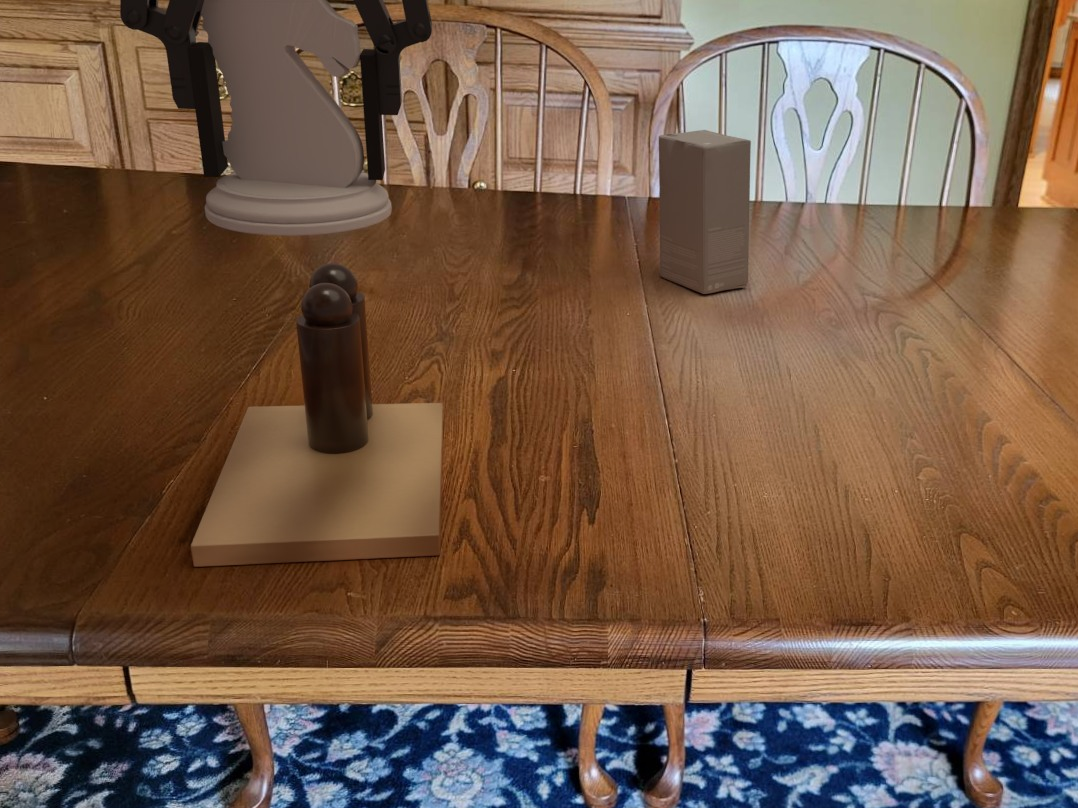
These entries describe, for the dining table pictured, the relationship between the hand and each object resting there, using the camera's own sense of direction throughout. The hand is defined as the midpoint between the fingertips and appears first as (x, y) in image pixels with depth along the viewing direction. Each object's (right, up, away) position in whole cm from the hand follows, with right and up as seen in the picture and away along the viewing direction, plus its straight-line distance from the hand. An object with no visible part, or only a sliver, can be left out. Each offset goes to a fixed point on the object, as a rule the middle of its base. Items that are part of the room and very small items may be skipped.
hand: (297, 172), depth 61 cm
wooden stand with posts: (-2, -18, +14) cm, 22 cm away
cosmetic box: (+22, +3, +60) cm, 64 cm away
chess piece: (0, -2, +1) cm, 2 cm away
